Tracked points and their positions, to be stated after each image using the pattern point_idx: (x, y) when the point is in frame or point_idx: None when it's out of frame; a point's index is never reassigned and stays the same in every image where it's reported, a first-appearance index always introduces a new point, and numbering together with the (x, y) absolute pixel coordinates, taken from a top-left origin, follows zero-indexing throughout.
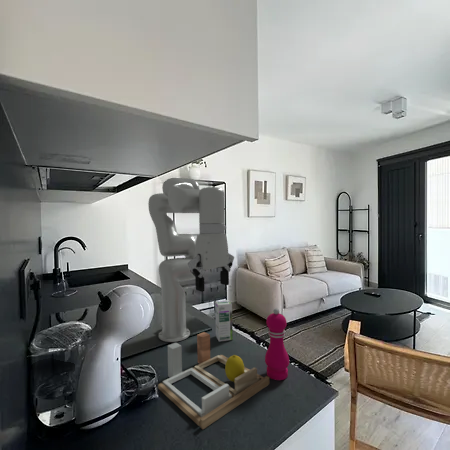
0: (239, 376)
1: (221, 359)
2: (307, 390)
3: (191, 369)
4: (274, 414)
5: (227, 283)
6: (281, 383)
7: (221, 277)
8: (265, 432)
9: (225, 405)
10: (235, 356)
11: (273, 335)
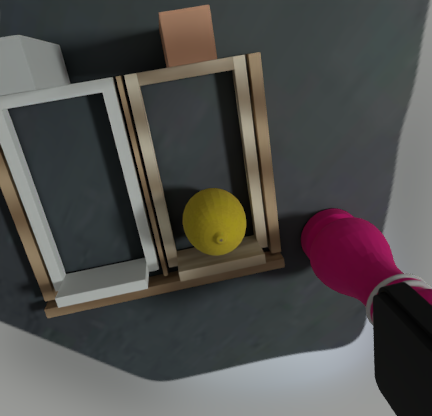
0: (197, 270)
1: (237, 89)
2: (330, 314)
3: (106, 88)
4: (213, 335)
5: (392, 396)
6: (305, 268)
7: (430, 370)
8: (166, 360)
9: (119, 301)
10: (221, 244)
11: (371, 318)
